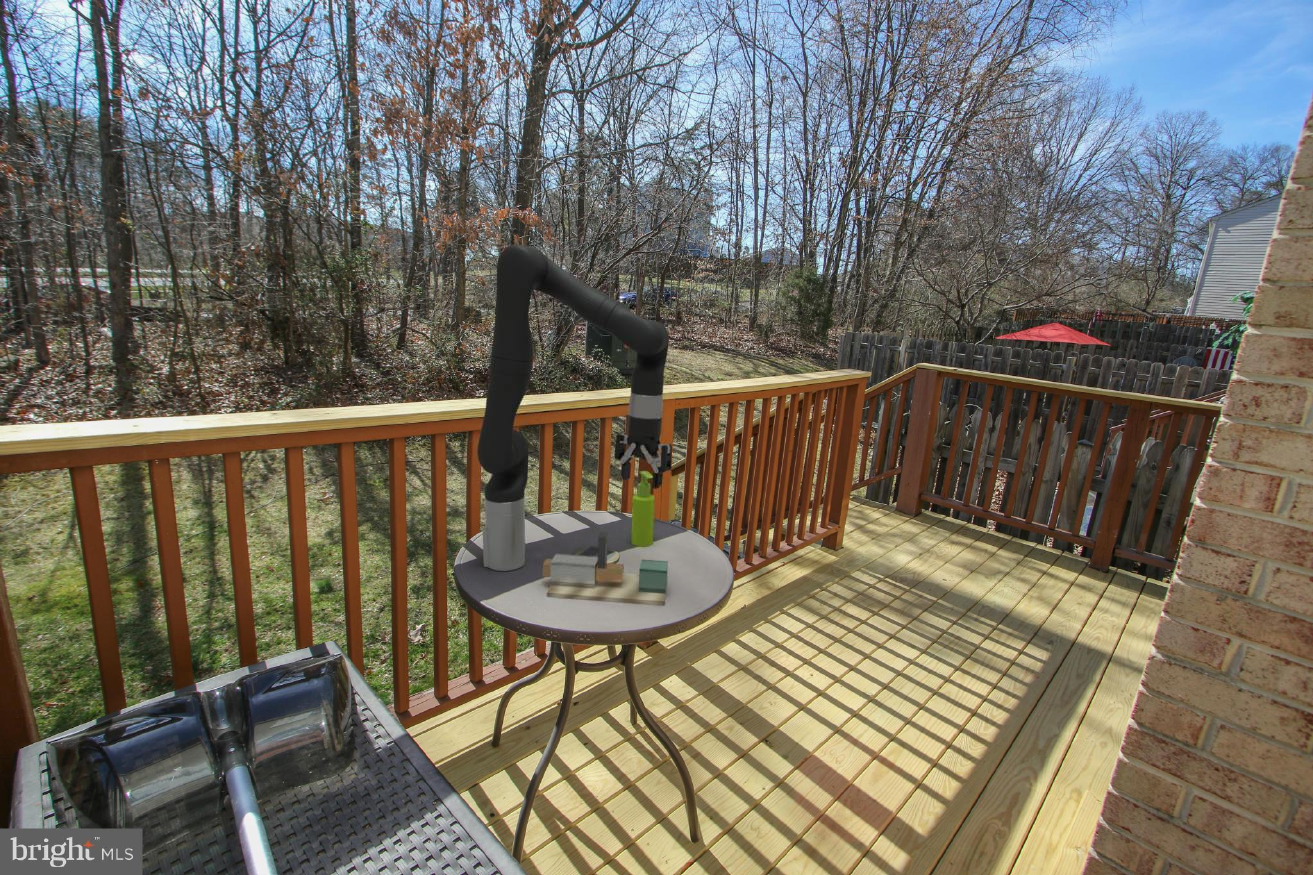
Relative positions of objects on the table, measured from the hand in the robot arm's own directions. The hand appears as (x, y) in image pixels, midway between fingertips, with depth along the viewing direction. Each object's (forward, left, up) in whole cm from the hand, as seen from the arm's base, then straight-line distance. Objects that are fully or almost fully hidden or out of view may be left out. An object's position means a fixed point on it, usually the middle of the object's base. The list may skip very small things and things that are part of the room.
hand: (640, 483), depth 138 cm
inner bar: (-12, -5, -21) cm, 25 cm away
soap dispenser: (-1, +22, -24) cm, 33 cm away
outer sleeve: (-14, -5, -24) cm, 28 cm away
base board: (-6, -5, -24) cm, 25 cm away
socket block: (+4, -5, -24) cm, 25 cm away
